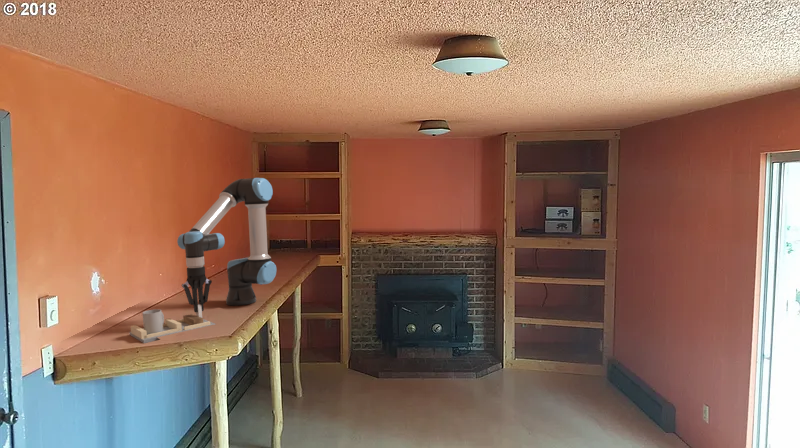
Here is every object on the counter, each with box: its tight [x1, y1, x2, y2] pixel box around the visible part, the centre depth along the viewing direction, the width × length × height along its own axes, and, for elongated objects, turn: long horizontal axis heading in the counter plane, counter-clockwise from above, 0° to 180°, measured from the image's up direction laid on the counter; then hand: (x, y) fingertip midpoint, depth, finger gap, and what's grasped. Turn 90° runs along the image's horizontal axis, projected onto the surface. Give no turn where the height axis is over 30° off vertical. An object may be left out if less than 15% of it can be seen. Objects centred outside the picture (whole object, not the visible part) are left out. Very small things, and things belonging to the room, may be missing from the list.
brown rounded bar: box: [182, 313, 204, 325], centre depth 232 cm, size 4×12×3 cm, turn 44°
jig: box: [129, 318, 216, 344], centre depth 226 cm, size 30×18×4 cm, turn 134°
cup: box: [142, 309, 165, 335], centre depth 222 cm, size 7×10×9 cm
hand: (199, 318), depth 234 cm, fingers closed
